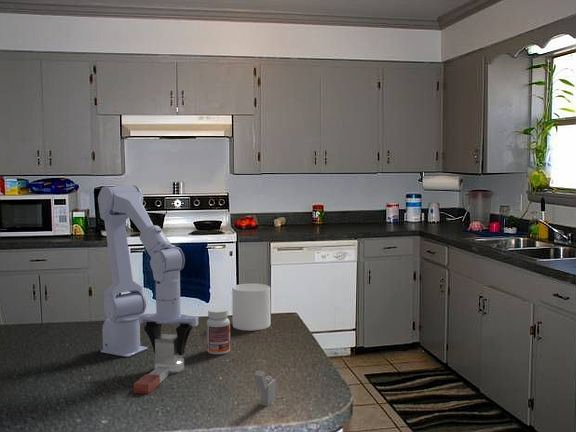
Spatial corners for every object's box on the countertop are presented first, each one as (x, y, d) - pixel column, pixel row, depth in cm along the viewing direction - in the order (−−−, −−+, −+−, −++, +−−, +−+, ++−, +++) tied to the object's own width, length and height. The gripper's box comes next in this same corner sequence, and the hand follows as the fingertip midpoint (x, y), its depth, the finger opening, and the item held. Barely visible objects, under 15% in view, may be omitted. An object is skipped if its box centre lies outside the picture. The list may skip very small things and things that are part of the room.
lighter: (268, 397, 126) (268, 361, 126) (276, 398, 126) (276, 362, 125) (254, 410, 120) (253, 372, 119) (261, 411, 119) (261, 373, 118)
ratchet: (162, 363, 148) (161, 345, 147) (188, 365, 146) (188, 347, 146) (126, 392, 129) (125, 371, 129) (156, 394, 128) (155, 373, 127)
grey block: (155, 363, 141) (154, 339, 141) (164, 357, 146) (163, 333, 146) (174, 365, 140) (173, 340, 140) (182, 358, 145) (181, 334, 144)
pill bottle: (234, 352, 157) (233, 310, 156) (213, 356, 153) (212, 313, 152) (223, 346, 162) (223, 305, 161) (203, 350, 158) (202, 308, 157)
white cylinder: (228, 329, 178) (227, 290, 177) (237, 319, 190) (237, 282, 189) (266, 331, 176) (266, 291, 175) (273, 321, 188) (273, 284, 187)
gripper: (132, 300, 140) (134, 356, 141) (190, 303, 137) (191, 360, 138) (145, 294, 147) (146, 347, 148) (201, 296, 144) (202, 351, 145)
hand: (169, 353), depth 143 cm, fingers open, 6 cm apart
